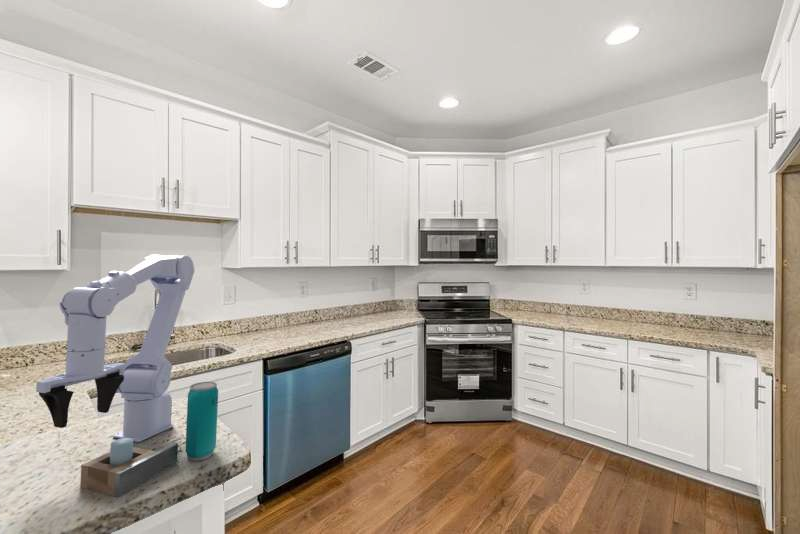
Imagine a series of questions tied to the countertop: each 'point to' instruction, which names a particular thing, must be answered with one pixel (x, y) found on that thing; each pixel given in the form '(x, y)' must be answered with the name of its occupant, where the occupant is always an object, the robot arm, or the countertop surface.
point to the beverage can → (201, 420)
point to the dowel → (121, 451)
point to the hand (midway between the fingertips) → (82, 418)
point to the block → (106, 471)
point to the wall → (145, 469)
